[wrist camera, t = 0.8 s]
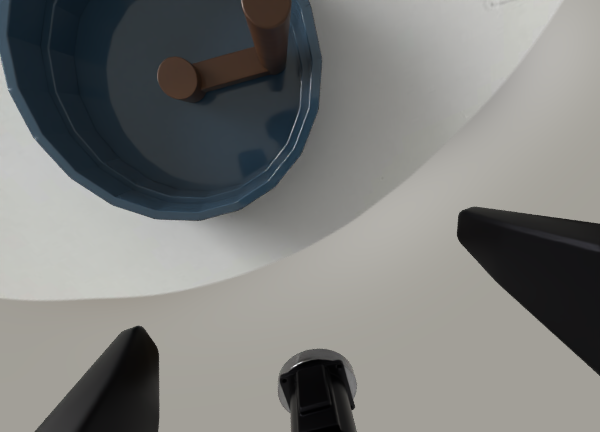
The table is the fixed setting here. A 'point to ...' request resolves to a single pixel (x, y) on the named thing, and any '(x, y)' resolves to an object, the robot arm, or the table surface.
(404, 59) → the table surface
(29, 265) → the table surface
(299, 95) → the bowl
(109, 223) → the table surface
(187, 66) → the crank handle
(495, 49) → the table surface
